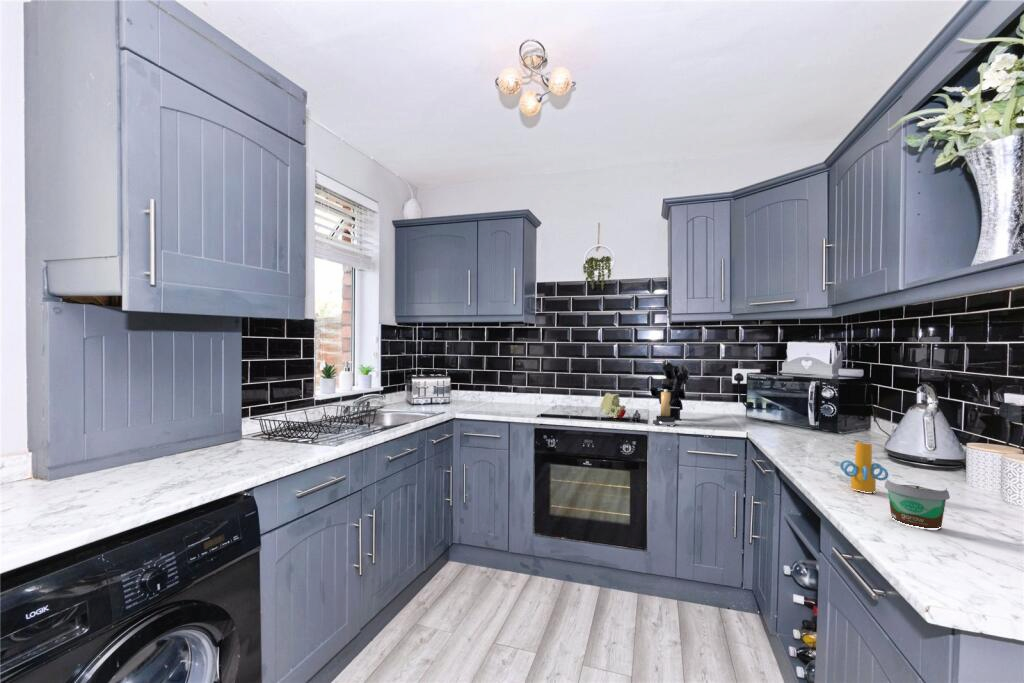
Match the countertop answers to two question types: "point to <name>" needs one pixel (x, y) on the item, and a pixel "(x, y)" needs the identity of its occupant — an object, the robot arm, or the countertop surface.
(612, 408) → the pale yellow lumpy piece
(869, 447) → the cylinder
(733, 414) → the countertop surface
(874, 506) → the countertop surface
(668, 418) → the motor
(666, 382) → the robot arm
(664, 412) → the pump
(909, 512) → the food container
